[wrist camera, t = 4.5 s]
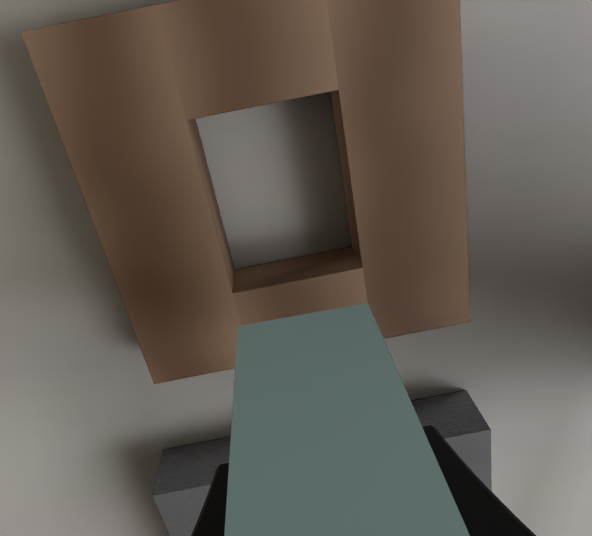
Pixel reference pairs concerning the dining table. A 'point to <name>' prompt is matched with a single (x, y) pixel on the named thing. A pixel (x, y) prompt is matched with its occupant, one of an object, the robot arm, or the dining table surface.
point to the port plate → (209, 455)
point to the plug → (329, 435)
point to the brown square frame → (249, 93)
